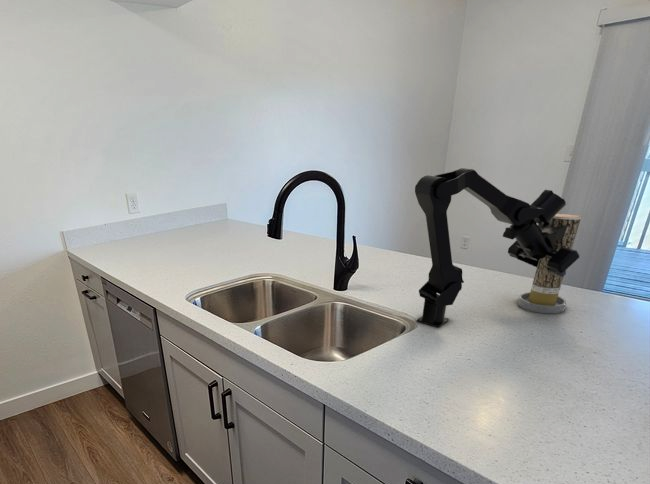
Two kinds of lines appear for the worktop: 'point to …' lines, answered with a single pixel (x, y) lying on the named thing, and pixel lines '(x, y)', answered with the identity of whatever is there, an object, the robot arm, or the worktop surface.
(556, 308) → the stand
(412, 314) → the worktop surface
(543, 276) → the paper tube
